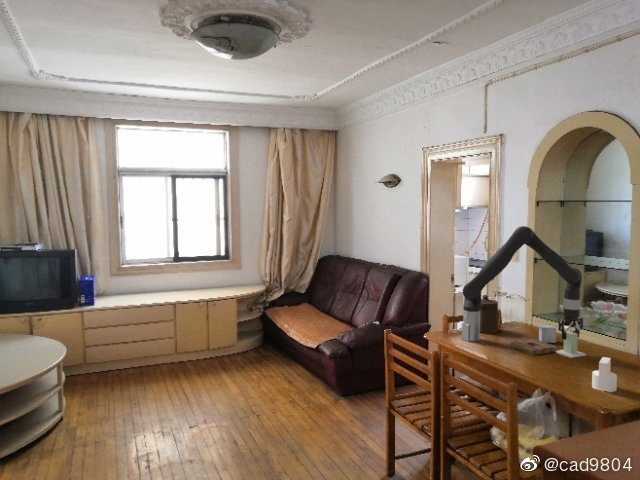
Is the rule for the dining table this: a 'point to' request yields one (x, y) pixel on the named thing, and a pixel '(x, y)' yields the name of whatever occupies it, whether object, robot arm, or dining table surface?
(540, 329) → the medicine box
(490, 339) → the dining table surface
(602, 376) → the cylinder with rectangular tab
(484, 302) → the wooden container
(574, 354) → the tile
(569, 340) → the green block
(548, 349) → the pocket board
